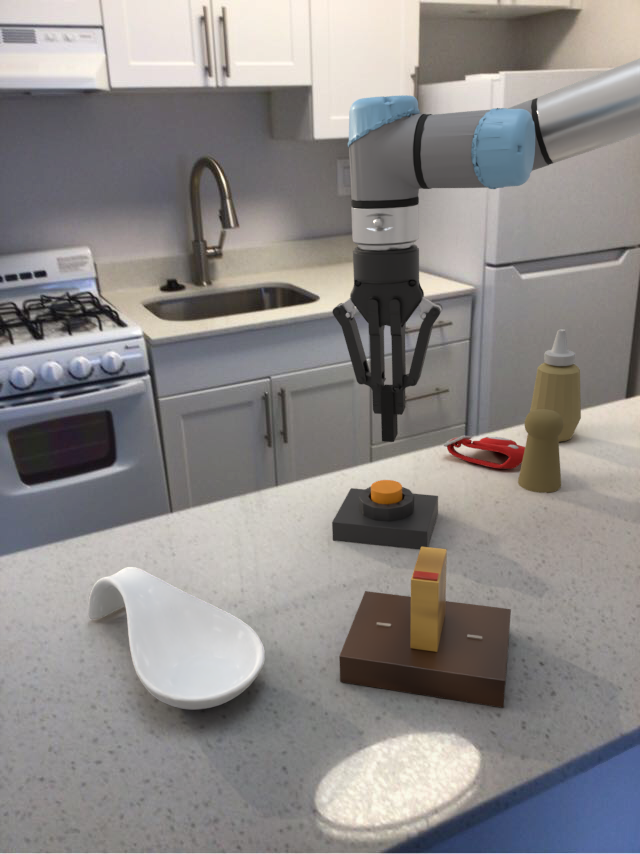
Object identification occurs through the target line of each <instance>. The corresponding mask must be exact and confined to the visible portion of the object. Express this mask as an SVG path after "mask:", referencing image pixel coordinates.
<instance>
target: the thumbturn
mask: <svg viewBox="0 0 640 854" xmlns="http://www.w3.org/2000/svg"><path fill="white" fill-rule="evenodd" d="M447 555H448V549H446V548H439V547H429V546H428V547H421V548H420V550H419V552H418V555H417V558H416V562H415V565H414V568H413V572H412V575H411V578H410V597H411V648H413V649H420V650H427V651H434V652H437V651H438V646H439V641H440V637H441V632H442V627H443V623H444V618H445V605H446V601H447V600H446V598H447V597H446V596H447V563H448V562H447V557H448V556H447Z"/></svg>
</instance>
